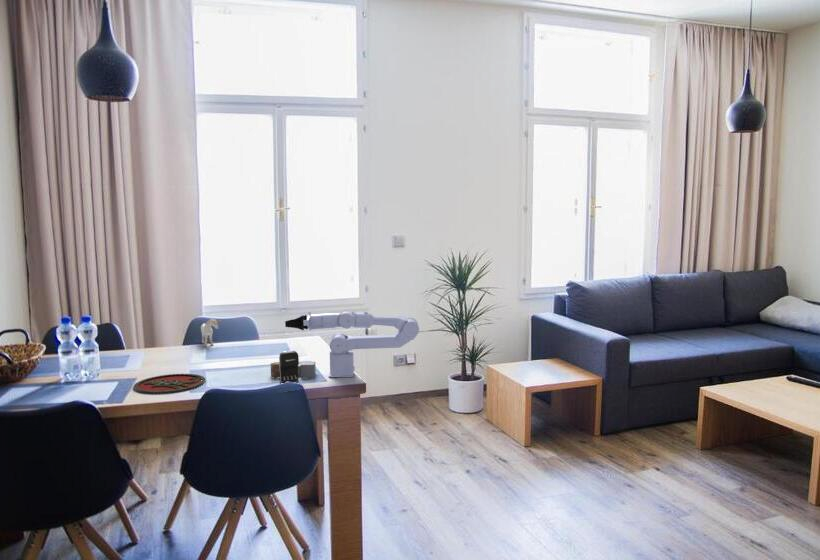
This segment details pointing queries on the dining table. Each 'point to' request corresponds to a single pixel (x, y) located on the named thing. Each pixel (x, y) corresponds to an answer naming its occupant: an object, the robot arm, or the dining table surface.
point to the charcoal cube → (308, 369)
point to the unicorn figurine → (208, 330)
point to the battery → (288, 366)
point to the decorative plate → (169, 383)
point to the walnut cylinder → (275, 370)
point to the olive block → (299, 370)
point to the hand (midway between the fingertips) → (287, 323)
